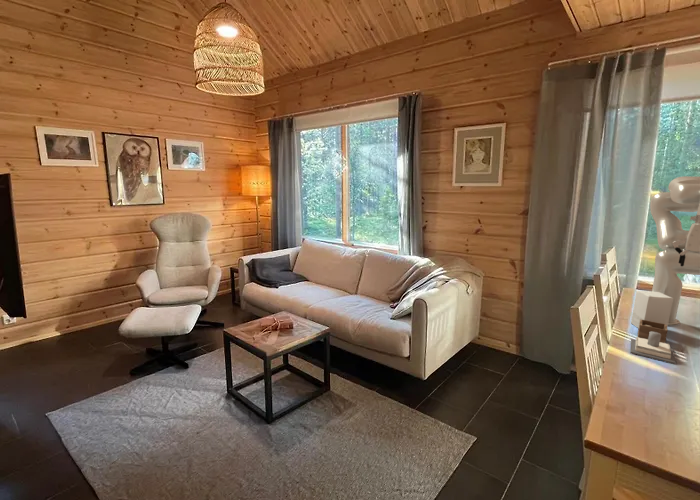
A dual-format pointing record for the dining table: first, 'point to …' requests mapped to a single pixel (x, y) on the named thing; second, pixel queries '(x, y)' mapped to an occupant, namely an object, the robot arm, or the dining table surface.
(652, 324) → the storage box
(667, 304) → the supplement box
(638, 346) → the lid
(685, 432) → the dining table surface
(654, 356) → the mat
